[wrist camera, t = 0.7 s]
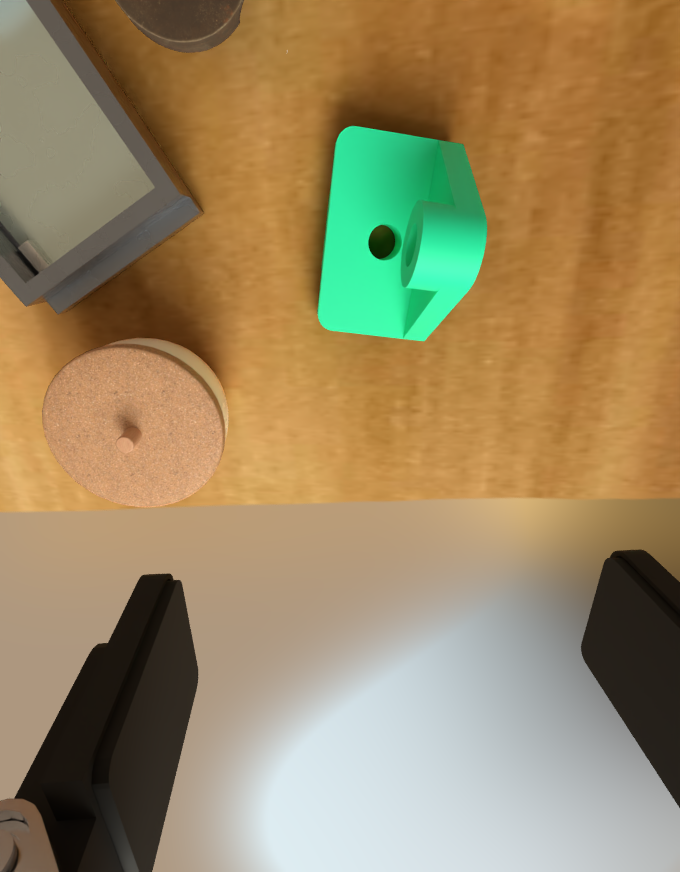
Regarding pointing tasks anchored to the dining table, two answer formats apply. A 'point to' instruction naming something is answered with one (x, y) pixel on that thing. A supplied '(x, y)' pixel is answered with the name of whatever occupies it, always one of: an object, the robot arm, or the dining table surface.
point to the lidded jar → (137, 421)
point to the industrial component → (184, 21)
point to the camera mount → (399, 234)
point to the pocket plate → (74, 164)
